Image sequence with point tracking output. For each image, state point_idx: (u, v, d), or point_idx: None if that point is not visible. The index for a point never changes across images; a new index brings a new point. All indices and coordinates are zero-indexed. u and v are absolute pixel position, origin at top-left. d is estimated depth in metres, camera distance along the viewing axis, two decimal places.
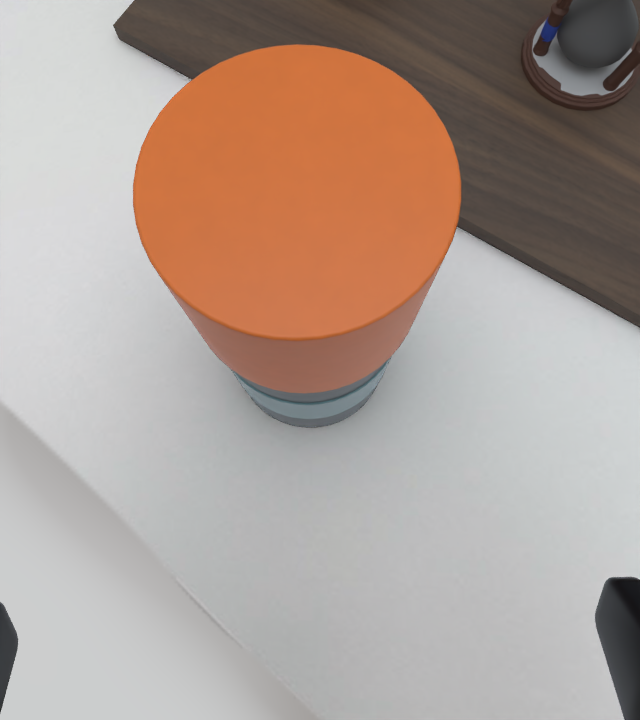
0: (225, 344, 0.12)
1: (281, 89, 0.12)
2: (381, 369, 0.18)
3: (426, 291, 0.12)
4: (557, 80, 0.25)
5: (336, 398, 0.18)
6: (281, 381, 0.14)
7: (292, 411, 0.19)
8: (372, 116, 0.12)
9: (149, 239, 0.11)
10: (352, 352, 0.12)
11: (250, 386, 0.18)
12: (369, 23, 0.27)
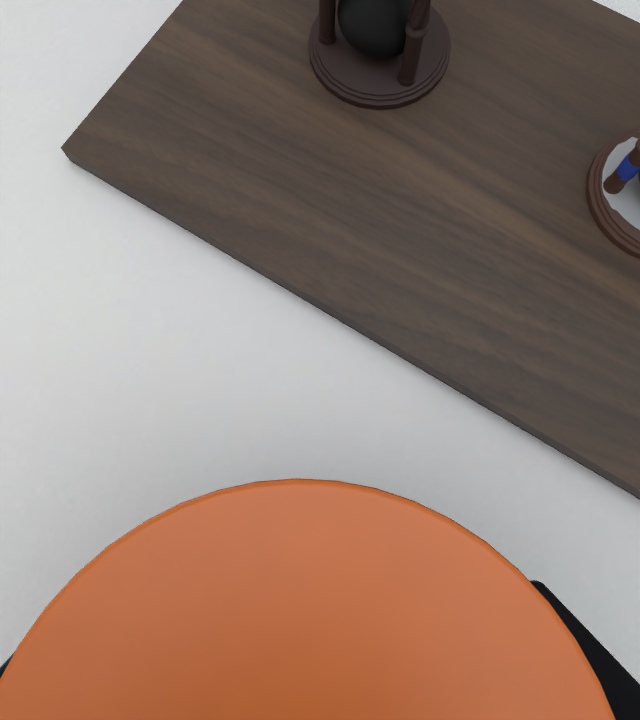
0: None
1: (264, 593, 0.06)
2: None
3: None
4: (636, 227, 0.19)
5: None
6: None
7: None
8: (452, 663, 0.06)
9: None
10: None
11: None
12: (389, 145, 0.21)
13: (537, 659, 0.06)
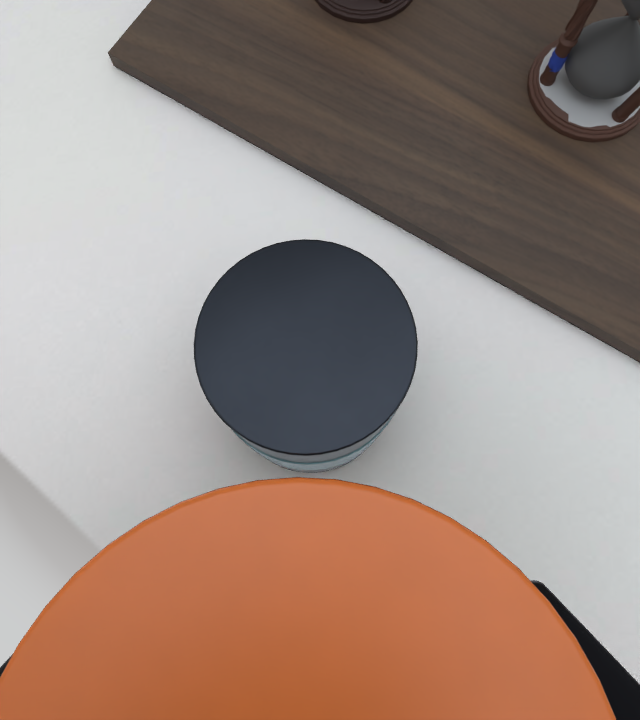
0: None
1: (265, 592, 0.06)
2: (384, 426, 0.18)
3: None
4: (564, 111, 0.25)
5: (338, 457, 0.17)
6: None
7: (292, 466, 0.19)
8: (451, 661, 0.06)
9: None
10: None
11: (249, 444, 0.17)
12: (371, 50, 0.26)
13: (537, 658, 0.06)
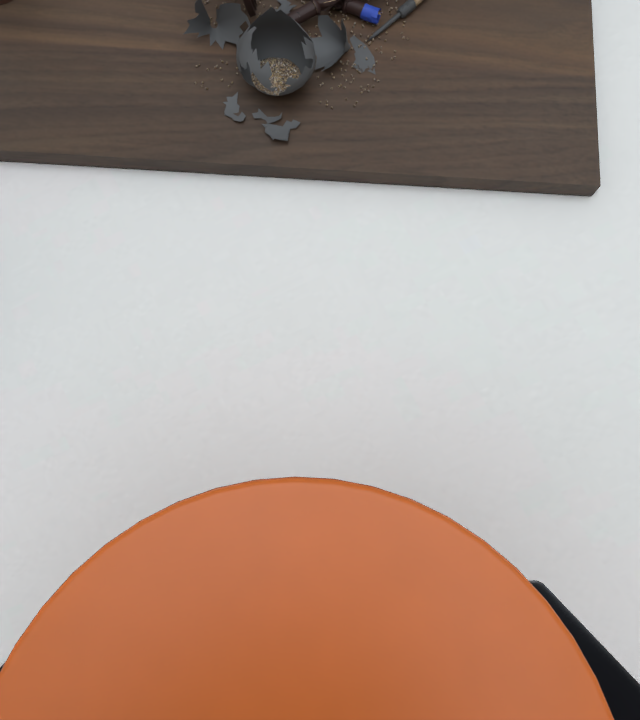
0: None
1: (262, 592, 0.06)
2: None
3: None
4: None
5: None
6: None
7: None
8: (450, 661, 0.06)
9: None
10: None
11: None
12: None
13: (535, 657, 0.06)
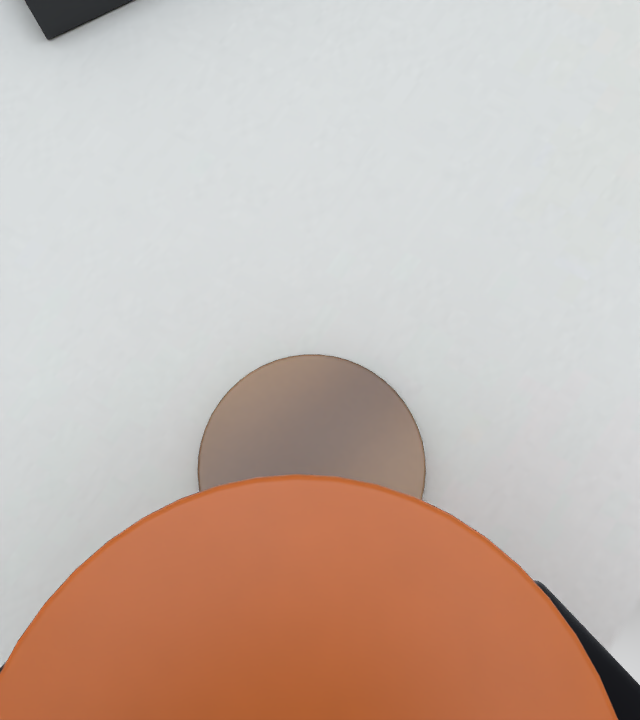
0: None
1: (264, 589, 0.06)
2: None
3: None
4: None
5: None
6: None
7: None
8: (452, 658, 0.06)
9: None
10: None
11: None
12: None
13: (537, 655, 0.06)
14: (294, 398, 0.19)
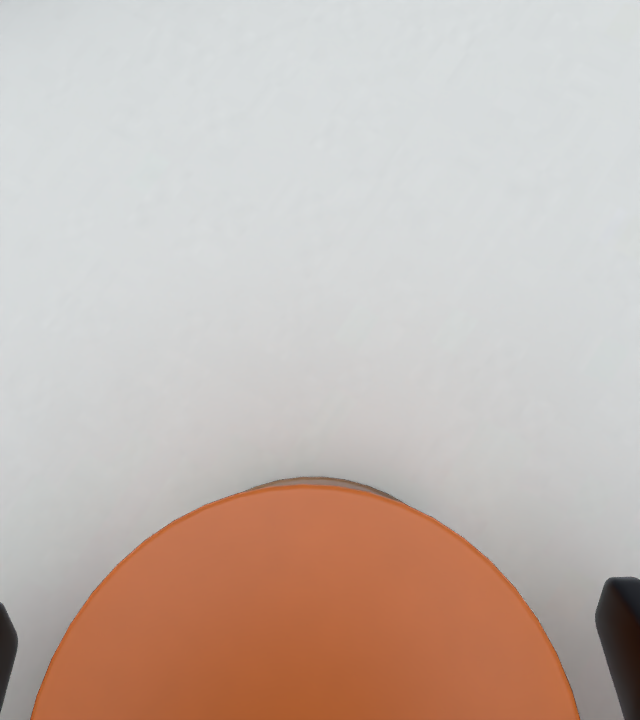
0: None
1: (277, 580, 0.07)
2: None
3: None
4: None
5: None
6: None
7: None
8: (434, 638, 0.07)
9: None
10: None
11: None
12: None
13: (504, 635, 0.07)
14: None
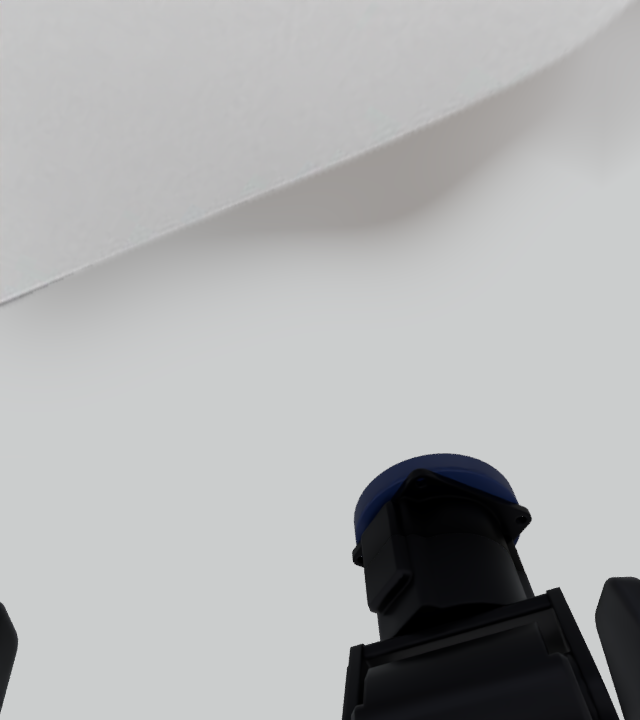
0: None
1: None
2: None
3: None
4: None
5: None
6: None
7: None
8: None
9: None
10: None
11: None
12: None
13: None
14: None
